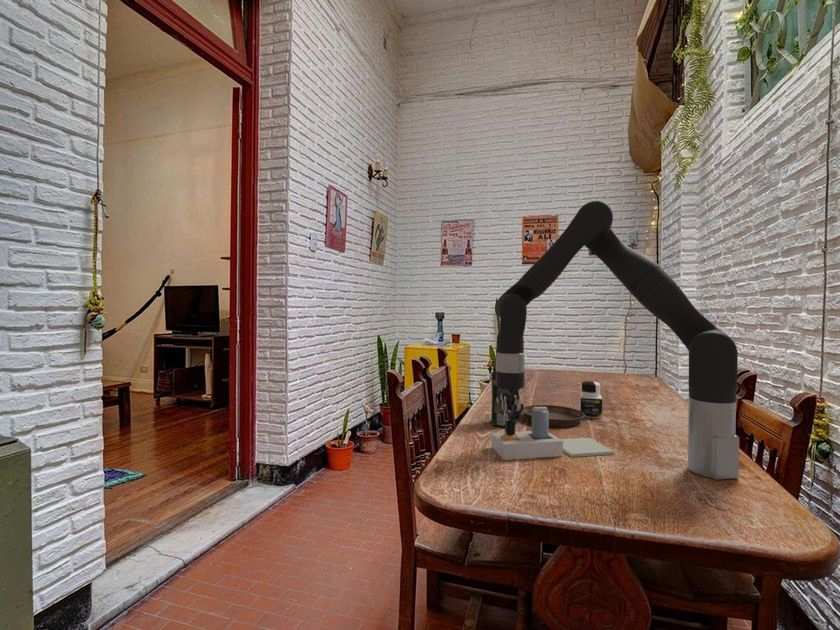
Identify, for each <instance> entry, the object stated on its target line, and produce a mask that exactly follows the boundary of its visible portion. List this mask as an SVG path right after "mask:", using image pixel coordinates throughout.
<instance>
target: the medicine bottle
mask: <svg viewBox="0 0 840 630" xmlns="http://www.w3.org/2000/svg"><path fill="white" fill-rule="evenodd" d="M578 396H579V401H578V402H579V411H581V412H583V413H584V414H585V416H584V417H583V418H588V419H590V418H591V419H603V400H604V399H603V397H602V395H601V383H599V382H597V381H592V380H589V381H588V380H586V381H583V382H581V392H580V393H579V395H578Z"/></svg>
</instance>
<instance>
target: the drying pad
mask: <svg viewBox="0 0 840 630" xmlns="http://www.w3.org/2000/svg"><path fill="white" fill-rule="evenodd" d="M559 439H560V438H559ZM560 440H562V441H563V453H565V454H567V455H568V456H569V457H571V458H581V457H591V456H592V457H594V456H608V455H609V456H610V455H615V451H614V450H613V449H611V448H609V447H607V446H605V445H603V444H602V443H599V442H597V441H596V440H594V439H593V438H591V437H578V438H577V437H575V438H561V439H560Z"/></svg>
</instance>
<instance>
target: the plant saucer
mask: <svg viewBox="0 0 840 630" xmlns="http://www.w3.org/2000/svg"><path fill="white" fill-rule="evenodd" d="M533 407H547V410H548V411H549V426H550V427H570V426H575V425H577V424H579V423H580V422H581V421H582V420H583V419H584V418H585V417H584V416H585V414H584V413H583V412H581V411H579V410H578V409H576V408H572V407H567V406H563V405H562V406H561V405H552V404H551V405H550V404H534V405H533V404H532V405H528V406H524V408H523V410H522V414H523V415H524V417H525V418H526V419H527V420H528V421H530V422H532V409H533Z"/></svg>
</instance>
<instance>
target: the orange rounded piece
mask: <svg viewBox="0 0 840 630" xmlns="http://www.w3.org/2000/svg"><path fill="white" fill-rule="evenodd" d="M503 439H504V440H505V441H511V440H517V434H514V435H507V434H506V433H504V434H503Z"/></svg>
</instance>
